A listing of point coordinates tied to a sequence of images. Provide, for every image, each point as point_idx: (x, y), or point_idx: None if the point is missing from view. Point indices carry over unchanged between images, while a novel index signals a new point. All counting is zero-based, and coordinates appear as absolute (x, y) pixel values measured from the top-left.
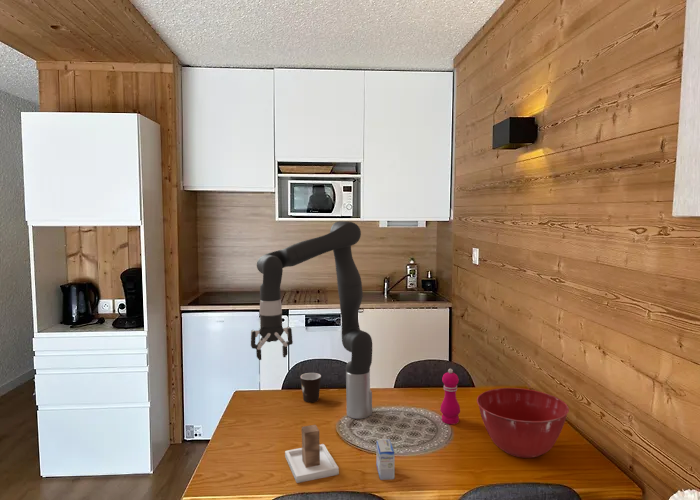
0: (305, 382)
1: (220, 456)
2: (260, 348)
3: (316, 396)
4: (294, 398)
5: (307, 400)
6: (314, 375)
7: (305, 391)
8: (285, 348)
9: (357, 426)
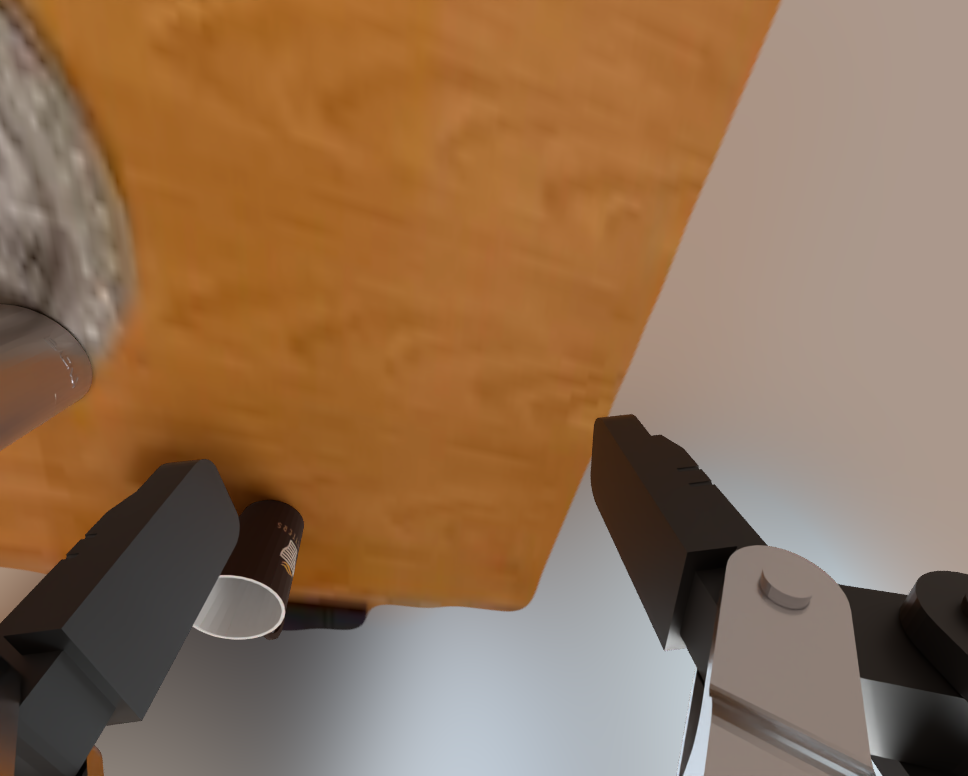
0: (262, 569)
1: (680, 108)
2: (726, 580)
3: (240, 518)
4: (340, 539)
5: (284, 509)
6: (221, 623)
7: (279, 538)
8: (37, 601)
9: (11, 227)
